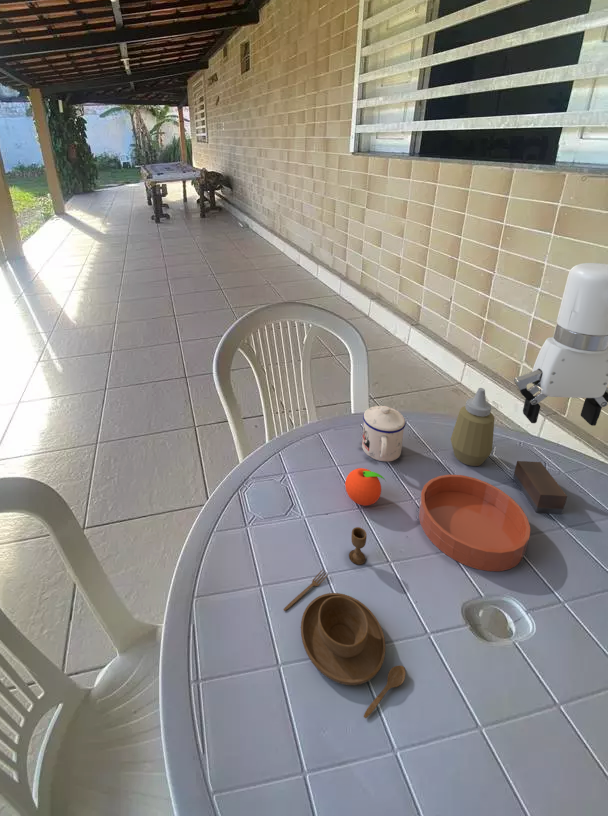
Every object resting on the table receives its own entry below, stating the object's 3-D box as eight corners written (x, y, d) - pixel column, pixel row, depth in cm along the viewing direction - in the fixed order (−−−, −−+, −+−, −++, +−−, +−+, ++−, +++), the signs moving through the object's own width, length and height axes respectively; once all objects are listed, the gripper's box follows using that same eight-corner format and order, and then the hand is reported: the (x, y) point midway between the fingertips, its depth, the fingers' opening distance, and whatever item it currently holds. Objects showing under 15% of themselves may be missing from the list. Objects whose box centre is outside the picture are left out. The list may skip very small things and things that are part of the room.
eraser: (536, 478, 88) (540, 461, 87) (561, 514, 80) (567, 496, 78) (512, 477, 89) (517, 460, 87) (535, 512, 81) (540, 494, 79)
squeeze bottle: (443, 444, 99) (454, 378, 93) (480, 446, 98) (493, 379, 92) (455, 469, 92) (468, 399, 85) (496, 471, 91) (511, 401, 84)
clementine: (379, 486, 89) (381, 459, 86) (390, 513, 82) (393, 485, 80) (340, 486, 89) (342, 460, 87) (348, 514, 83) (350, 486, 80)
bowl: (498, 494, 85) (502, 477, 84) (545, 576, 69) (552, 556, 68) (408, 489, 88) (410, 472, 86) (434, 566, 72) (438, 547, 70)
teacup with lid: (361, 434, 105) (363, 394, 100) (400, 439, 102) (405, 399, 98) (360, 468, 94) (363, 425, 90) (404, 475, 91) (410, 431, 87)
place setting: (270, 616, 66) (270, 590, 64) (353, 545, 77) (355, 521, 74) (364, 733, 53) (367, 706, 50) (449, 627, 63) (454, 601, 61)
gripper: (622, 327, 74) (597, 409, 80) (515, 326, 76) (498, 406, 83) (657, 347, 67) (626, 435, 73) (537, 345, 69) (517, 430, 76)
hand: (558, 419), depth 78 cm, fingers open, 9 cm apart
